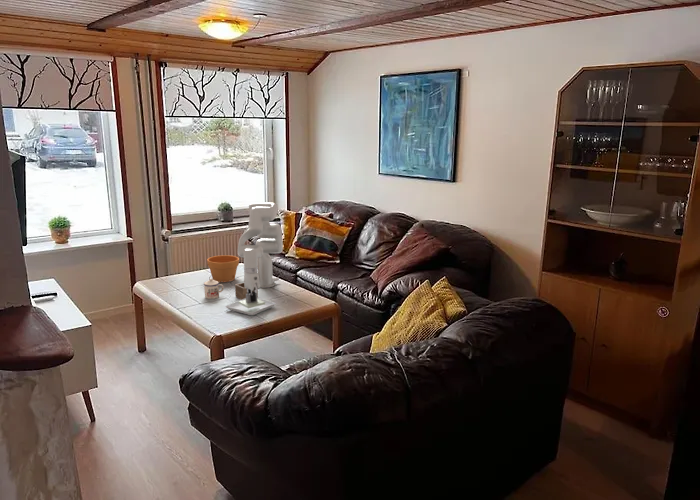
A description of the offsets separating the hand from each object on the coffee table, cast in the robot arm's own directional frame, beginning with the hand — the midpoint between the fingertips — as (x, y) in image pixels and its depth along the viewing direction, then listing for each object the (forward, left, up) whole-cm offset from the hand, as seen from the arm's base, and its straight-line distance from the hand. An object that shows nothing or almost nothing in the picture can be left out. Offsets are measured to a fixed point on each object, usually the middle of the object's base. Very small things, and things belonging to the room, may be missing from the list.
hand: (251, 300), depth 311 cm
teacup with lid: (+5, -37, -7) cm, 38 cm away
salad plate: (-1, -3, -7) cm, 8 cm away
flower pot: (-17, -66, -7) cm, 68 cm away
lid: (0, 0, -2) cm, 2 cm away
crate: (-10, -24, -6) cm, 26 cm away
